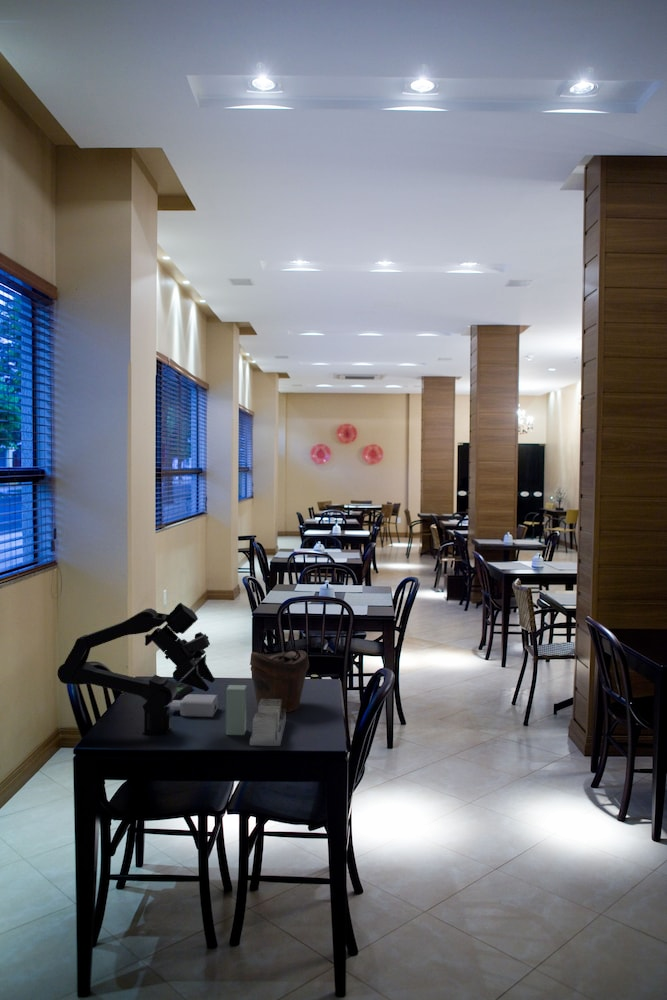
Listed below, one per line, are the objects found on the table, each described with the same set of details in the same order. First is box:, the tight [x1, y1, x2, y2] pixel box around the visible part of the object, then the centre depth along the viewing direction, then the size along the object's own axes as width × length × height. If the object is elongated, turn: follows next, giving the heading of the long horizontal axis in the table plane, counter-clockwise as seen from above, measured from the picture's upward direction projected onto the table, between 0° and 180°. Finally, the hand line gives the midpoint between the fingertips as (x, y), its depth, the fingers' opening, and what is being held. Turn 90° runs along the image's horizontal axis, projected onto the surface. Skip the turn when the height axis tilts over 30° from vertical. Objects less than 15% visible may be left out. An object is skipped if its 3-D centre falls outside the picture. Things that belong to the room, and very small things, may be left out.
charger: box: [166, 693, 219, 718], centre depth 227 cm, size 5×9×15 cm
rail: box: [249, 699, 287, 747], centre depth 209 cm, size 8×21×6 cm, turn 0°
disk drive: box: [171, 681, 194, 702], centre depth 247 cm, size 10×3×15 cm
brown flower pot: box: [249, 648, 310, 713], centre depth 234 cm, size 18×20×18 cm
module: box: [225, 684, 248, 736], centre depth 209 cm, size 5×4×12 cm
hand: (210, 685), depth 209 cm, fingers open, 9 cm apart
